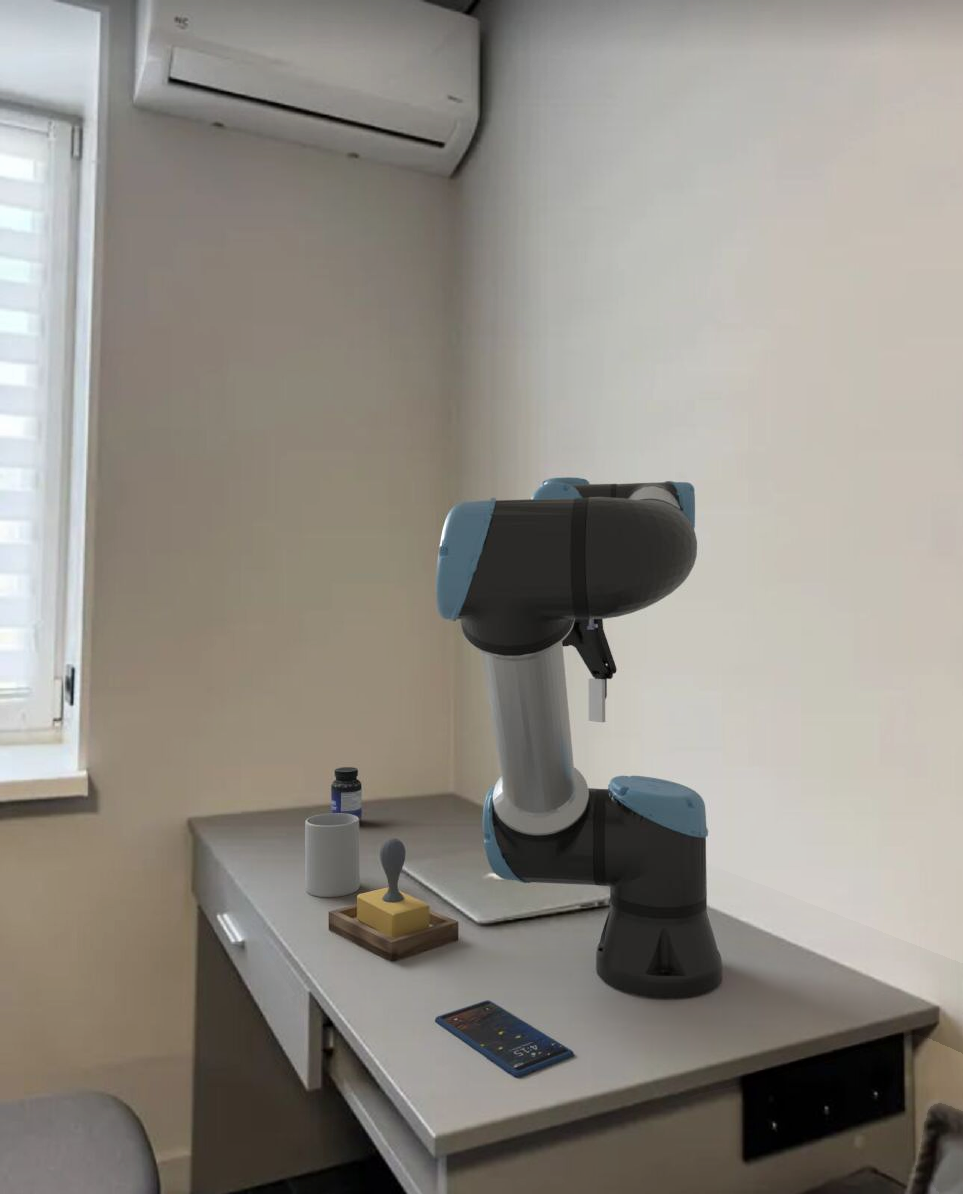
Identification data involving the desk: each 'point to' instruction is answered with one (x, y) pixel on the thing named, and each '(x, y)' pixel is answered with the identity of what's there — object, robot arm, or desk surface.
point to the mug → (332, 855)
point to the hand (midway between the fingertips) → (566, 726)
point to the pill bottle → (346, 792)
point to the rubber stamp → (392, 899)
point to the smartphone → (504, 1038)
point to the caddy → (388, 947)
